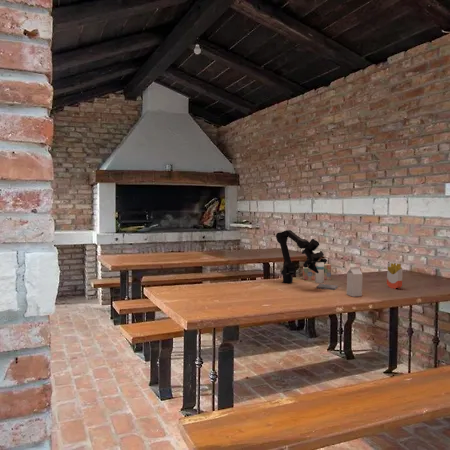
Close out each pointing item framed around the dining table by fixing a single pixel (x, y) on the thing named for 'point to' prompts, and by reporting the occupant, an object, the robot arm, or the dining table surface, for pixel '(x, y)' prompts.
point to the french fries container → (394, 276)
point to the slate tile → (327, 286)
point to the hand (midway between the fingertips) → (321, 272)
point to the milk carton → (354, 282)
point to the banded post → (320, 272)
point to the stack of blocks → (311, 275)
